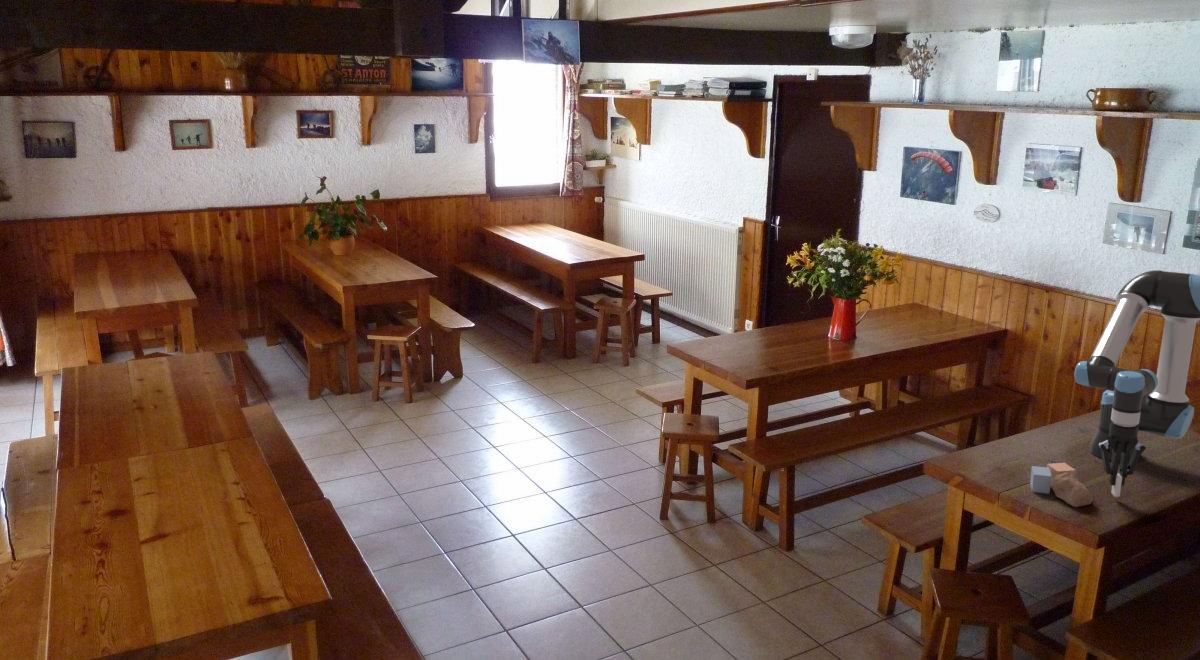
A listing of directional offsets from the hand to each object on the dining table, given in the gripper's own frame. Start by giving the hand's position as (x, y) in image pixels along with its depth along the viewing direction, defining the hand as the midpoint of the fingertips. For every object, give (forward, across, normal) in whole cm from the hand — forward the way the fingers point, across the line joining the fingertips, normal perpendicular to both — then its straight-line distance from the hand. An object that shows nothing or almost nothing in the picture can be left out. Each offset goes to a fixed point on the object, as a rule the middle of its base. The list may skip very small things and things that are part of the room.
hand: (1115, 494), depth 285 cm
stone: (+2, +12, +1) cm, 12 cm away
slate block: (+2, +20, -7) cm, 21 cm away
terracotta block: (+2, +13, -11) cm, 17 cm away
